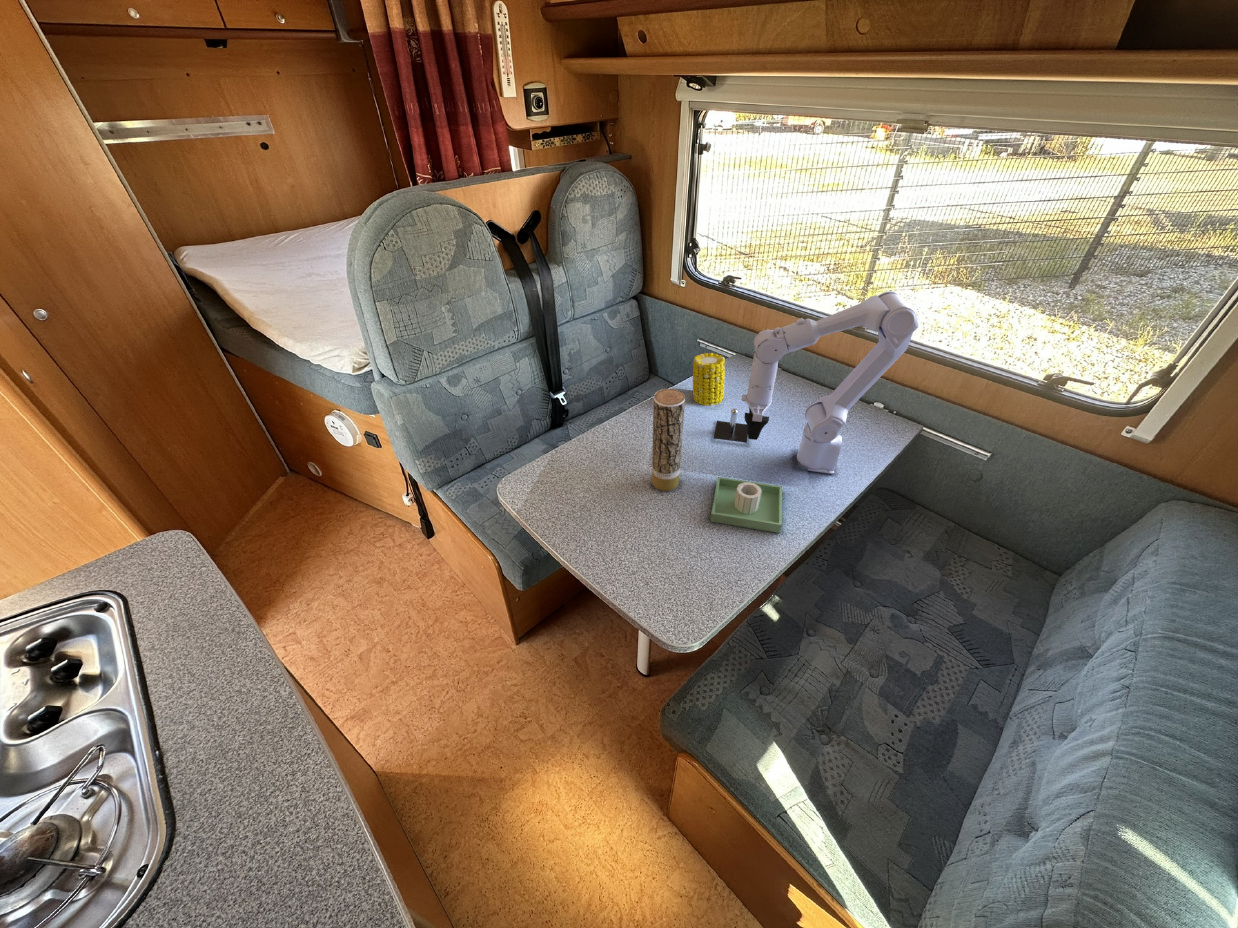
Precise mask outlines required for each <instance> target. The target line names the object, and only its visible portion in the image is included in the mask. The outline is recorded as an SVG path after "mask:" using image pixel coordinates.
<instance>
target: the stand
mask: <svg viewBox="0 0 1238 928" xmlns="http://www.w3.org/2000/svg"><path fill="white" fill-rule="evenodd" d="M738 413H739V411H738V409H737V408H732V409H731V410H730V419H729V421H723V420H716V424H715V430H714V435H713V439H715V440H721V441H729V442H730V441H731V442H737V443H745V444H747V443H748V427H747V423H739V422H737V418H738Z"/></svg>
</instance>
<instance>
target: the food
mask: <svg viewBox="0 0 1238 928" xmlns="http://www.w3.org/2000/svg"><path fill="white" fill-rule="evenodd" d="M692 360H693V363H692V368H693V369H692V398H693V401H694V402H695V403H697V404H699V405H703V406H707V407H708V406H717V405H718V404H722V401H723V400H724V395H725V392H724V391H725V383H726V381H725V379H726V378H725V376H726V369H725V368H726V366H725V365H726V364H725V363H726V359H725V357H724V356H722V355H721V354H718V353H713V352H709V353H708V352H705V353H700V354H699V355H698V354H697V355H696V356H694V358H693V359H692Z"/></svg>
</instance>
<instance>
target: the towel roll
mask: <svg viewBox="0 0 1238 928" xmlns="http://www.w3.org/2000/svg"><path fill="white" fill-rule="evenodd" d="M750 482H751V481H750ZM750 482H744V483H741V484H739V485H738V487H737V491H736V497H735V504H734V506H735V508H736V509H737V510H738V511H739V512H741V513H742V512H743V513H745V514H748V513H749V514H752V513H754V512H756V511H757V510H758V507H759V502H760V497H761V488H760V487H759V486H758V485H756V484H754V483H750Z"/></svg>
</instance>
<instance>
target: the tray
mask: <svg viewBox="0 0 1238 928" xmlns="http://www.w3.org/2000/svg"><path fill="white" fill-rule="evenodd" d="M744 482H750V483H754V484H756V485H758V486H759V487H760V488H761V497H760V502H759V507H758V510H757V511H756V512H754V513H752V514H749V513H748V514H745V513H743V512H742V513H741V512H739V511H738V510H737V509H736V508H735V506H734V504H735V497H736V491H737V487H738V485H739V484H741V483H744ZM782 521H783V486H782V485H778V484H777V485H776V484H769V483H762V482H756V481H750V480H742V479H736V478H729V477H723V476H717V478H716V485H715V490H714V496H713V503H712V508H711V515H710V522H713V523H719V524H725V525H730V526H734V527H735V526H736V527H741V528H747V529H753V530H759V531H766V532H770V533H771V532H773V533H776V534H780V532H781V529H782Z"/></svg>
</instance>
